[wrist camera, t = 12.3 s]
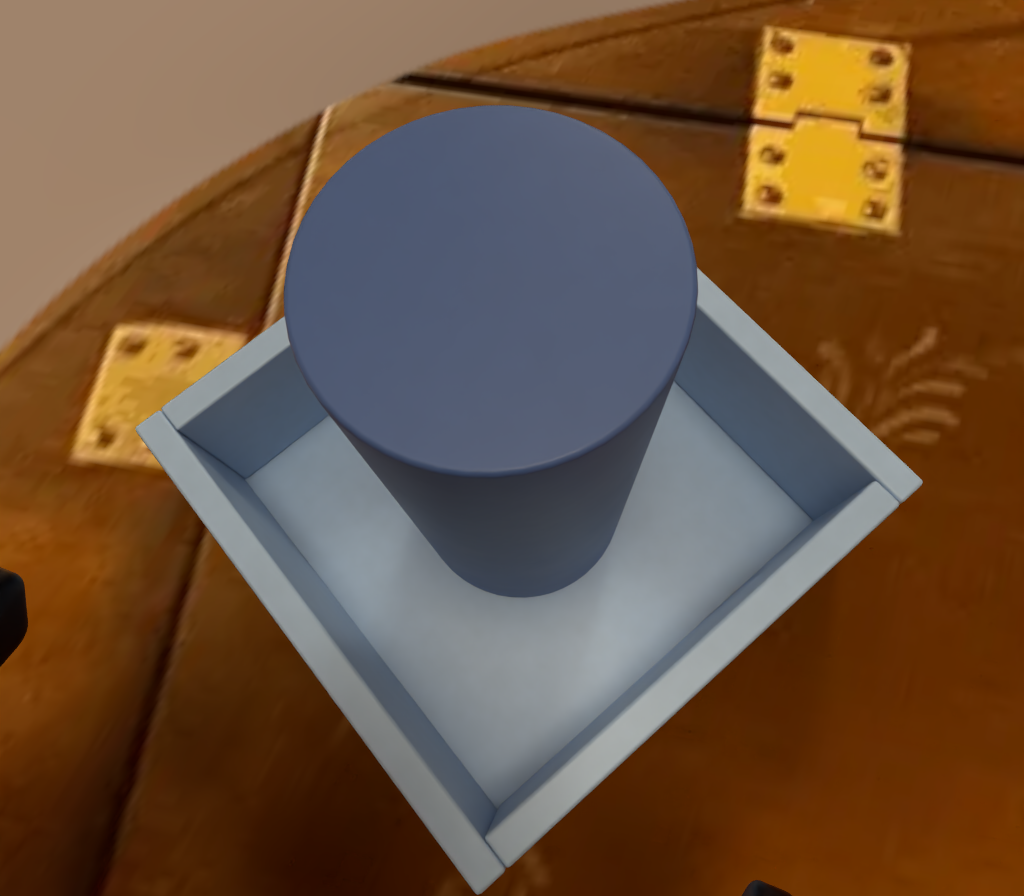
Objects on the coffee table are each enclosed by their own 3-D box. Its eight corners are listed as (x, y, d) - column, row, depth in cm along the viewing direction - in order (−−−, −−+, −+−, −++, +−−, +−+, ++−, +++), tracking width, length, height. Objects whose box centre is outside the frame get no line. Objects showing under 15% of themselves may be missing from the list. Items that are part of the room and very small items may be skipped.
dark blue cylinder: (507, 640, 17) (454, 569, 8) (384, 488, 18) (202, 258, 9) (661, 510, 18) (790, 293, 8) (532, 370, 19) (515, 37, 9)
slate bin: (494, 850, 16) (477, 898, 12) (218, 483, 19) (132, 427, 15) (844, 528, 18) (925, 481, 14) (545, 231, 21) (544, 121, 17)
